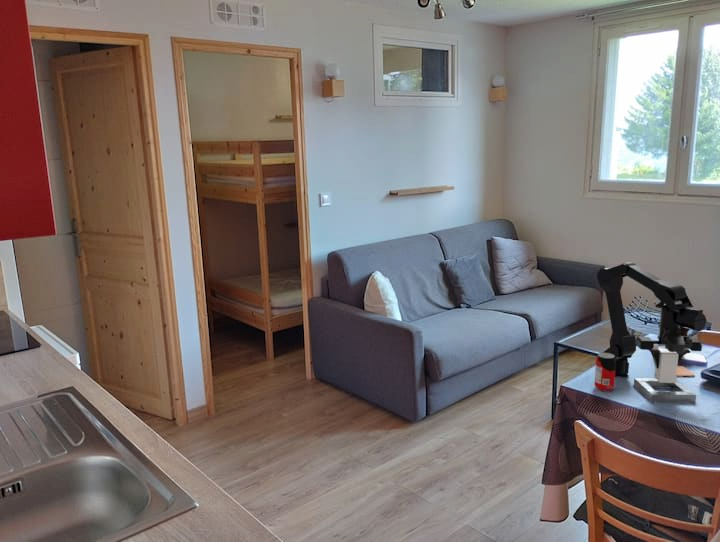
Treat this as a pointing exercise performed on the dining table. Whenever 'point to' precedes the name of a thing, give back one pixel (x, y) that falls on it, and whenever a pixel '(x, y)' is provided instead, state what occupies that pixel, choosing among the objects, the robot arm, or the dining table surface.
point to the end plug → (667, 367)
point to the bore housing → (678, 396)
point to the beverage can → (605, 371)
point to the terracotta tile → (683, 372)
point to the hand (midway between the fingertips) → (665, 368)
